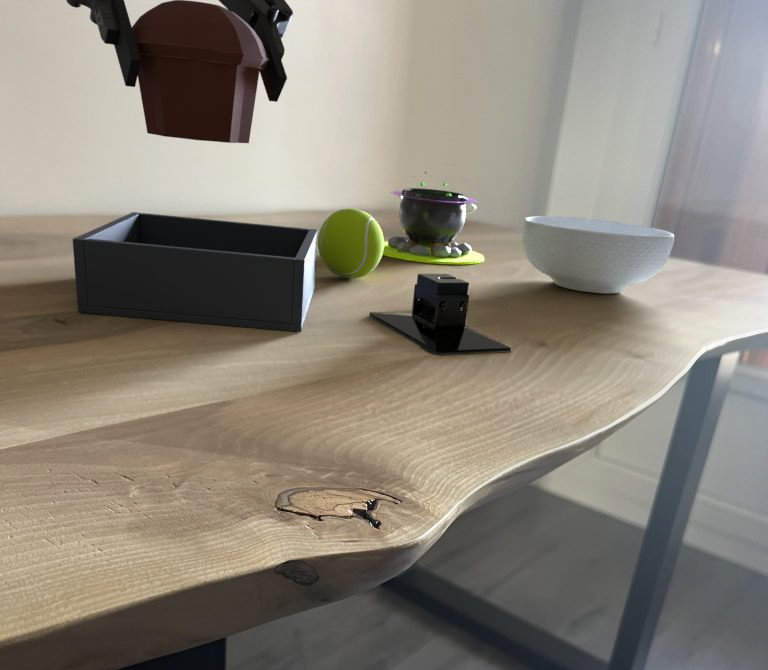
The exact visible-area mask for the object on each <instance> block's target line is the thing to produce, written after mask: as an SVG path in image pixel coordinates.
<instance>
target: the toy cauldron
mask: <svg viewBox="0 0 768 670" xmlns="http://www.w3.org/2000/svg"><path fill="white" fill-rule="evenodd" d="M444 164H445V165H447V163H443V165H444ZM449 166H450V167H451V166H453V167H454V166H455V164H449ZM427 173H428V172H427V171H424V175H429V176H430V174H427ZM438 176H439V177H440V175H438V174H437V177H438ZM412 177H415V176H413V175H412ZM445 177H447V178H448V176H445ZM452 178H454V179H455V177H453V176H452ZM426 179H428V178H426ZM428 180H429V179H428ZM434 180H437V179H434ZM445 181H448V182H449V180H446V179H445ZM445 181H444V182H443V183H442V186H443V187H446V186H447V182H445ZM462 181H464V182H468V179H467V180H466V179H464V178H462ZM419 185H420V186H421V187H422V188H421V187H420V188H419V187H418V188H417V187H408V188H405V189H402V190H395V191H389V193H390V194H391V195H392V194H393V195H395V196H398V198H399V199H401V200H400V202H399V213H398V214H399V215H398V218H399V223H400V226H401V231H403V233H404V234H405V236H392V237H391V238H389V239H388V240H387V241H384V249H383V254H382V256H386V257H391V258H394V259H399V260H404V261H411V262H418V263H425V264H437V265H477V264H481V263H483V262H485V256H484V255H483V254H481V253H480V252H476V251H474V250H472V246H471V245H470V244H467V243H466V242H463V243H460V244H459V243H457V242H455V241H453V240H455V238H456V237H458V235H460V233H461V231H462V229H463V227H464V224H465V221H466V215H467V214H471V213H473V212H475V211H476V210H477V206H476V205H475V204H474V203H479V200H477V199H475V198H474V199H473V198H471V197H465V194H463V193H459V192H457V191H449V190H442V189H431V188H423V187H424V186H425V183H424V182H423V181H421V182H420V184H419ZM466 205H469V206H470V207H472V209H470V210H467V208H466Z"/></svg>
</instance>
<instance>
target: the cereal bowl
mask: <svg viewBox="0 0 768 670" xmlns="http://www.w3.org/2000/svg"><path fill="white" fill-rule="evenodd" d="M521 234H522V235H521V238H522V242H521V243H522V248H523V252H524V255H525V257H526V259H527V260H528V262H529V263H530V264H531V265H532V266H533V267H534V268H535V269H537V270H538V271H539V272H541V273H542V274H545V275H547V276H548V277H550V279H551V280H552V282H553V283H554V284H555V285H556V286H559V287H561V288H564V289H569V290H573V291H577V292H584V293H593V294H618V293H620V292H622V291H623V290H624V289H625V288H626V287H631V286H634V285H637V284H640V283H643V282H646V281H648V280H650V279H652V278H653V277H654V276H656V275H657V274H658V273H660V272H661V270H662V269H663V268H665V266H666V263H667V261H668V260H669V257H670V256H671V252H672V249H673V245H674V242H675V234H674V233H672V232H670V231H667V230H664V229H660V228H655V227H651V226H646V225H645V226H644V225H641V224H635V223H627V222H620V221H613V220H604V219H596V218H586V217H575V216H559V215H558V216H557V215H534V216H533V215H532V216H527V217H525V218H524V220H523V225H522V233H521Z"/></svg>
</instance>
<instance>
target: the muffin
mask: <svg viewBox="0 0 768 670" xmlns="http://www.w3.org/2000/svg"><path fill="white" fill-rule="evenodd" d="M131 27H132V30H133V34H134V37H135V41H136V44H137V47H138V51H139V54H140V58H141V63H140V68H139V72H138V76H137V81H138V85H139V93H140V97H141V104H142V109H143V115H144V120H145V126H146V133H147V134H149V135H155V136H160V137H166V138H175V139H184V140H193V141H203V142H215V143H216V142H217V143H227V144H250V137H251V132H252V131H251V130H252V123H253V117H254V111H255V104H256V97H257V91H258V84H259V78H260V69H265V67H266V65H267V64H268V62H269V58H268V57H267V54H266V51H265V49H264V46H263V44H262V42H261V40H260V38H259V37H258V35H257V34H256V32H255V31H254V30H253V29H252V28H251V27H250V26H249V25H248V24H247V23H246V22H245V21H244V20H242V19H241V18H240V17H239V16H238V15H237V14H235V13H234V12H232V11H230V10H228V9H227V8H226V7H223V6H221V5H219V4H218V5H217V4H214V3H209V2H202V1H195V0H168V1H164V2H161V3H160V4H158V5H155V6H154V7H152V8H151V9H148V10H147V11H146V12H144V13H143V14H141V16H139V17H138V19H137V20H136V21H135V22H134V24H133V25H131Z"/></svg>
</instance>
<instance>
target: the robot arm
mask: <svg viewBox="0 0 768 670" xmlns="http://www.w3.org/2000/svg"><path fill="white" fill-rule="evenodd" d="M65 1H66V3H67V4H68V5H69V6H71V7H73V8H81V7H82V6H84V7H86V8H88V9H90V14H89V19H90V21H91V22H92V23H93V24H94V25H97V28H98V32H99V35H100V39H101V40H102V42H103V43H104V44H106V45H113V46H114V50H115V53H116V57H117V61H118V65H119V67H120V72H121V74H122V78H123V82H124V86H125V87H129V88H136V86H137V85H136V84H137V81H138V72H139V68H140V63H141V58H140V54H139V51H138V47H137V44H136V41H135V37H134V34H133V30H132V23H131V20H130V16H129V13H128V10H127V6H126V3H125V0H65ZM218 1H219V3H220V4H222V6H224V8H225V9H228V10H230V11H232V12H234V13H235V14H237V15H238V16H239V17H240V18H241V19H242V20H244V21H245V22H246V23H247V24H248V25H249V26H250V27H251V28H252V29H253V30H254V31H255V32H256V34H257V35H258V37H259V38H260V40H261V42H262V44H263V46H264V49H265V51H266V54H267V57H268V58H269V62H268V64H267V65H266V67H265V69H260V71H259V75H260V77H261V81H262V84H263V86H264V89H265V93H266V96H267V99H268V101H269V102H274V103H278V101H279V98H280V96H281V93H282V91H283V89H284V87H285V84H286V81H287V80H288V76H287V72H286V70H285V66H284V64H283V57H284V55H285V51H286V49H285V45H284V44H283V40H282V39H283V38H284V37H285V34H286V32H287V29H288V27H289V24H290V23H291V20H292V18H293V15H294V11H293V9H292V8H291V7H290V5H289V4H288V3H287V1H286V0H218Z"/></svg>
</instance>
